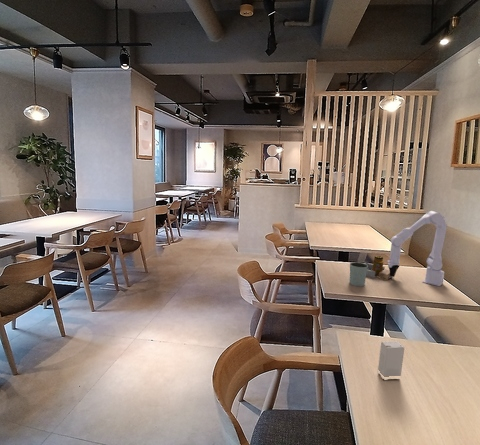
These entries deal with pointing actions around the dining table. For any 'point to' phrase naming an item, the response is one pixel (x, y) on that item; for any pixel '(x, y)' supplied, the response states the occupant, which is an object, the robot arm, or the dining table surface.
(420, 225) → the robot arm
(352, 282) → the green tapered cup
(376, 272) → the condiment
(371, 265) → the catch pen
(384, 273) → the tan rectangular block
